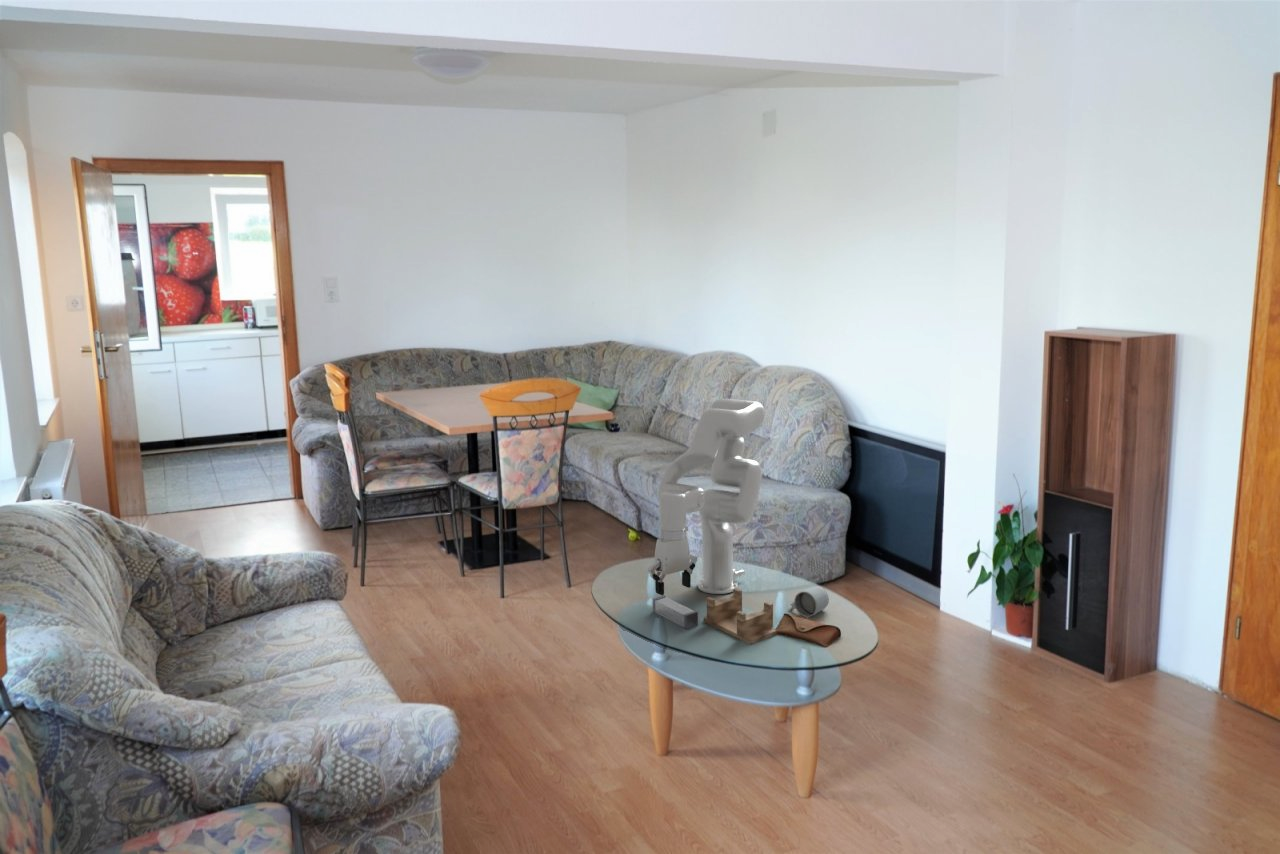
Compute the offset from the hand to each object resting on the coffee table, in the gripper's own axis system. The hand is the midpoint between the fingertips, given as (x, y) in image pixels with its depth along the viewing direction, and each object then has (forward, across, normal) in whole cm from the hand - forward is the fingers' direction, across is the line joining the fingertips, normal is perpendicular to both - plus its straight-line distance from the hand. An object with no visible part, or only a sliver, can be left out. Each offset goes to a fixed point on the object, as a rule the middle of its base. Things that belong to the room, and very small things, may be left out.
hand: (673, 590), depth 296 cm
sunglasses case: (+10, -22, +32) cm, 40 cm away
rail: (+9, -1, 0) cm, 9 cm away
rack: (+9, -11, +17) cm, 22 cm away
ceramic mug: (+9, -34, +21) cm, 41 cm away
